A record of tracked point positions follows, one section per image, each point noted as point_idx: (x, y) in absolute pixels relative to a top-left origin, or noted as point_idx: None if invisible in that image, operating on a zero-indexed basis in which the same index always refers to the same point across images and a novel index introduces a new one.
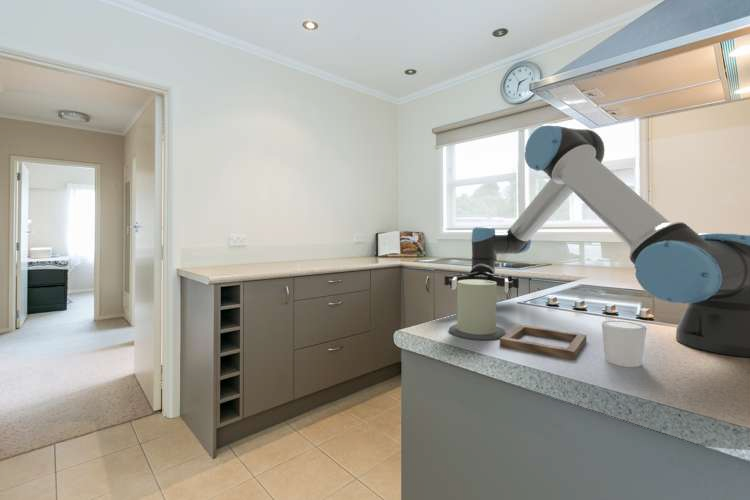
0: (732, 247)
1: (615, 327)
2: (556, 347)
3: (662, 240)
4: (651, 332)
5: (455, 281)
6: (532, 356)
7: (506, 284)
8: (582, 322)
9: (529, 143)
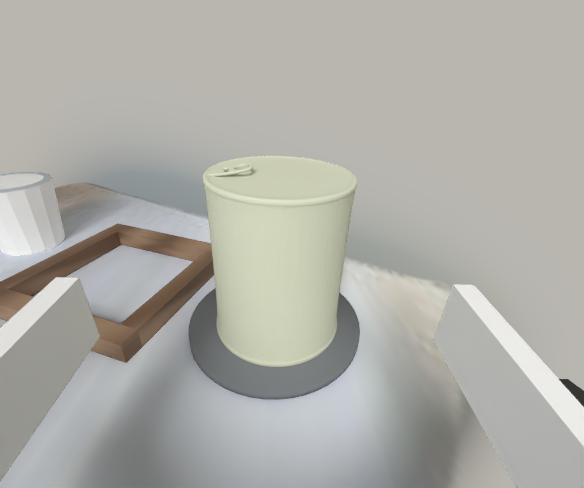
0: None
1: (46, 174)
2: (135, 231)
3: None
4: None
5: (481, 348)
6: (183, 237)
7: (77, 294)
8: None
9: None
